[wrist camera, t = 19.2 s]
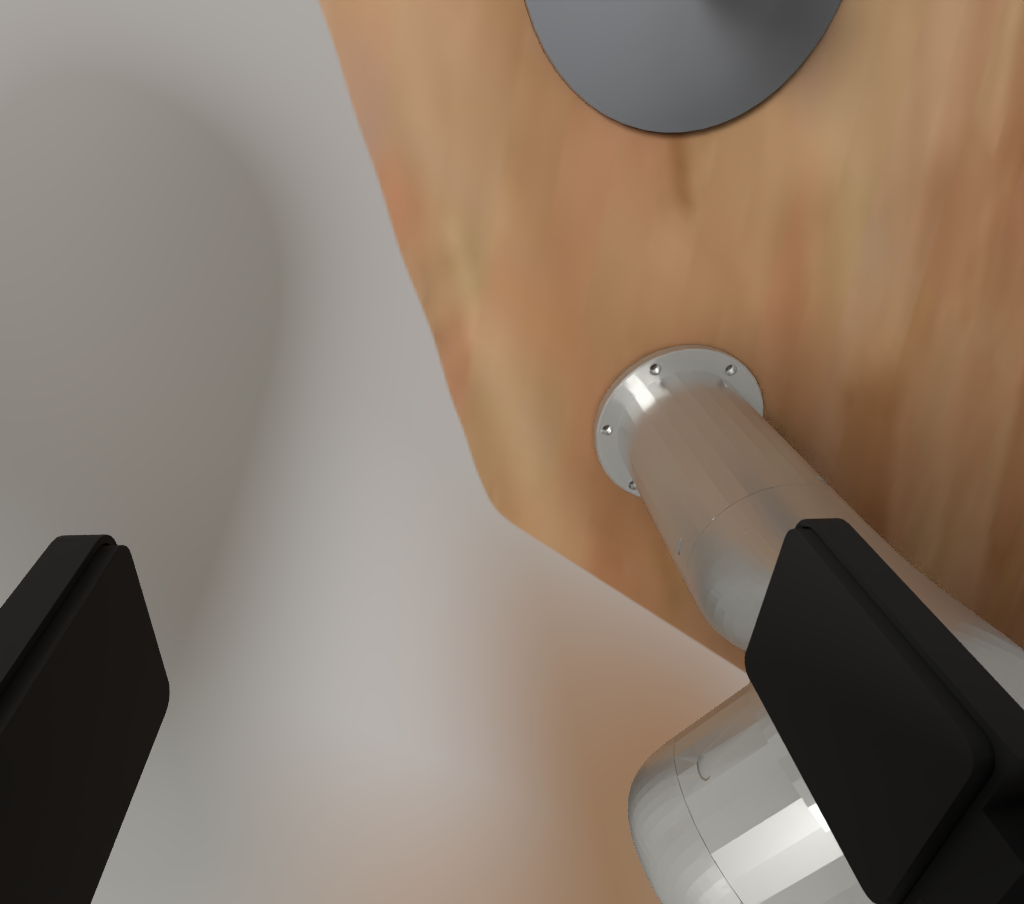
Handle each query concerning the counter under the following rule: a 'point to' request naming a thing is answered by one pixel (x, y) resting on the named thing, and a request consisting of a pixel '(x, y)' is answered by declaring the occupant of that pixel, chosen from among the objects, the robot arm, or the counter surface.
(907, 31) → the counter surface
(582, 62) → the plate
